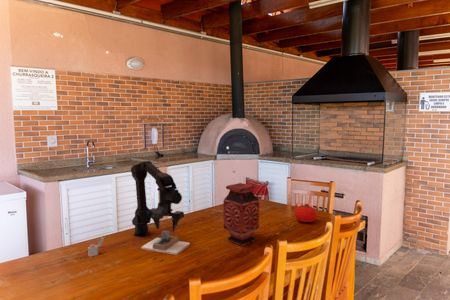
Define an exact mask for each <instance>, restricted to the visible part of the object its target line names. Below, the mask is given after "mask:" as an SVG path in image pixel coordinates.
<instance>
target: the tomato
mask: <svg viewBox="0 0 450 300" xmlns="http://www.w3.org/2000/svg"><path fill="white" fill-rule="evenodd" d="M293 214H294V217H295V219H296V220H297V221H299V222H302V223H307V222H310V223H312V222H314V221H315V219H316V216H317V215H316V214H317V213H316V210H315V209H314V207H312V206H310V205H307V204H303V205H299V206H297V207H296V208H295V209H294V213H293Z"/></svg>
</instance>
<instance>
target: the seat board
mask: <svg viewBox="0 0 450 300" xmlns="http://www.w3.org/2000/svg"><path fill="white" fill-rule="evenodd" d="M160 239H161V237H155V238H154V239H152V240H151V241H149V242H147V243H146V244H144V245H143V246H141V249H142V250H146V251H151V252H158V253H163V254H169V255H174V256H177V255H178V254H180V253H181V252H183V251H184V250H185V249H186V248H188V247H189V246H190V245H191V243H190V242H188V241H181V240H179V237H178V236H172V235H170V241H169V242H168V243H166V244H165V245H162V244H161V245H160V244H154V243H155V242H157V241H158V240H160Z"/></svg>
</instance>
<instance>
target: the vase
mask: <svg viewBox="0 0 450 300" xmlns="http://www.w3.org/2000/svg"><path fill="white" fill-rule="evenodd" d="M225 189H226V190H229V192H228V194H227V195H226V196H225V197H224V198H223V209H222V211H223V212H222V213H223V215H222V217H223V228H224V229H225V230H226V231H227V232H228V233H229V234H230V236H229V237H228V238H227V241H228V242H230V243H232V242H233V243H232V244H235V245H238V246H240V247H243V246H245V245H248V244H250V243H254V242H255V241H256V237H254V236H253V234H254V232H255V231H256V230H258V229H259V228H260V199H259V198H258V197H257V196H256V195H255V194H254V192H253V191H252V190H254V189H256V186H255V185H253V184H252V185H251V184H246V183H242V182H239V183H234V184H229V185H226V186H225Z"/></svg>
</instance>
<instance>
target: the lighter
mask: <svg viewBox="0 0 450 300" xmlns="http://www.w3.org/2000/svg"><path fill="white" fill-rule="evenodd" d="M104 240H105V238H104V237H102V236H100V238H99V239H98V242H97V244H90V245H89V246H88V247H87V253H88V254H87V255H88V257H89V258H91V257H95V256H98V255H99V248H101V246H102V244H103V242H104Z"/></svg>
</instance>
